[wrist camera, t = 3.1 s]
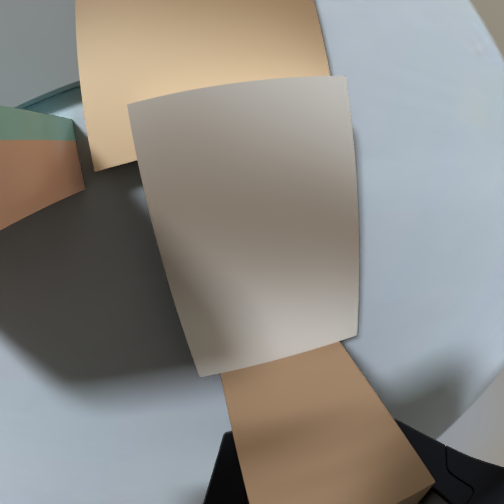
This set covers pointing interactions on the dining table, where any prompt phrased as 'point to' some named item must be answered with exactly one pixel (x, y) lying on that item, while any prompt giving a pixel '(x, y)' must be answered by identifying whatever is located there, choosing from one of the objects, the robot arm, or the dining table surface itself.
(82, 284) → the dining table surface
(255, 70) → the rest
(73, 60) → the plate
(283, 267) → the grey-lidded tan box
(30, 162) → the tile
